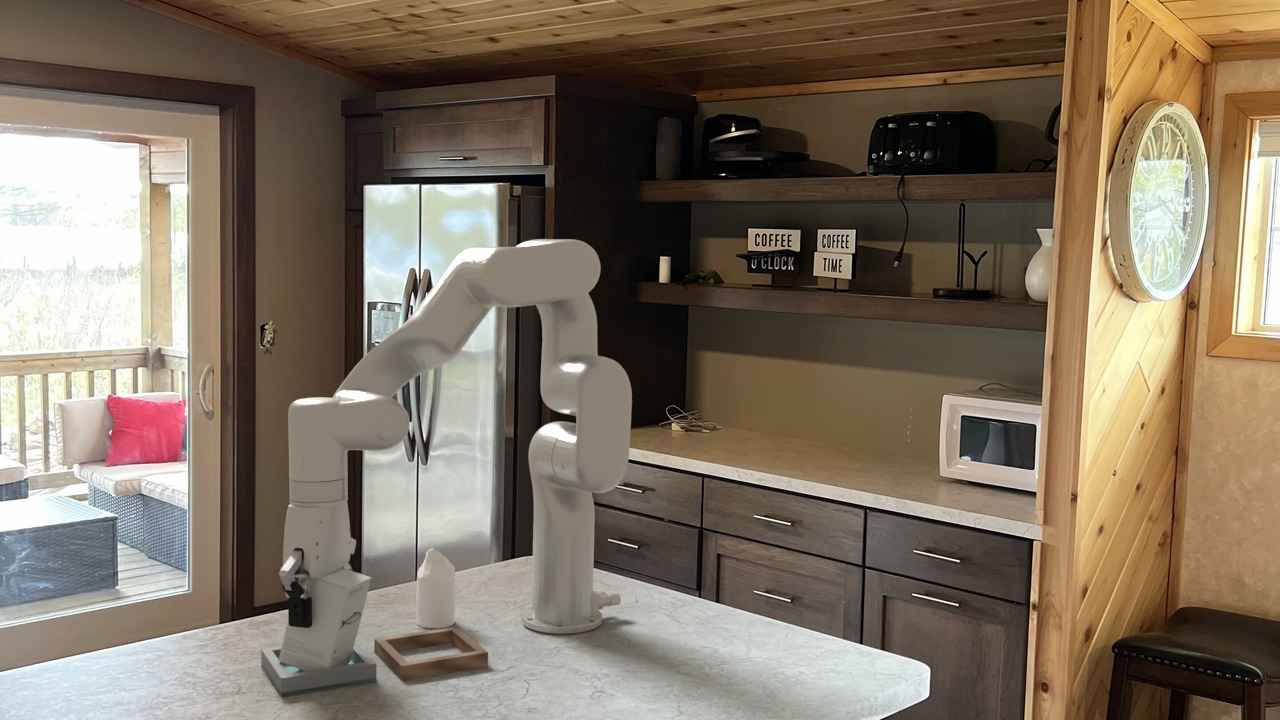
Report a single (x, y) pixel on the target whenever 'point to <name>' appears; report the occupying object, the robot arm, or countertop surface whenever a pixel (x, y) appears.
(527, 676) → the countertop surface
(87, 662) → the countertop surface
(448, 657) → the wooden picture frame
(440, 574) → the white rounded piece
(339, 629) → the supplement box
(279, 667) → the dock
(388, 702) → the countertop surface
